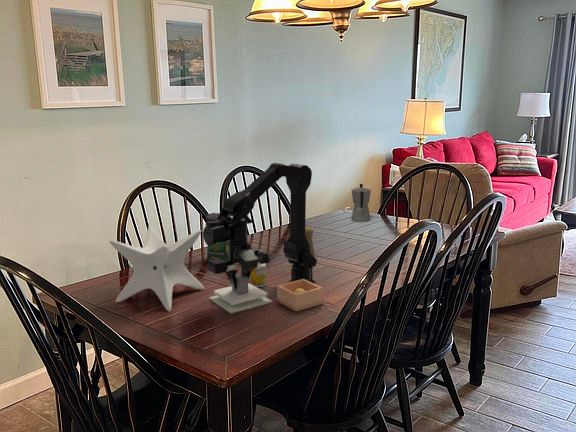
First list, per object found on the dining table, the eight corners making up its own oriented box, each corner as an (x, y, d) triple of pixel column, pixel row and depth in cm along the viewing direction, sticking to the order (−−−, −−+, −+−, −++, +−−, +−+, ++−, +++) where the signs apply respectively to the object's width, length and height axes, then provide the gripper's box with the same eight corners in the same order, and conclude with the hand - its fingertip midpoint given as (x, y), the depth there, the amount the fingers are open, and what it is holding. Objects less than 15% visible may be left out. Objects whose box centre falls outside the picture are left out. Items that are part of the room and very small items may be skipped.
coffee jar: (204, 262, 207) (201, 214, 202) (215, 256, 214) (213, 210, 209) (225, 265, 202) (223, 216, 198) (236, 259, 209) (235, 212, 205)
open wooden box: (303, 293, 173) (303, 278, 172) (323, 303, 165) (323, 287, 164) (277, 301, 167) (276, 285, 166) (296, 311, 159) (295, 295, 158)
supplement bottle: (248, 283, 183) (247, 255, 181) (263, 281, 185) (262, 253, 183) (253, 288, 178) (252, 259, 176) (268, 286, 180) (267, 257, 178)
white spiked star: (154, 282, 186) (149, 225, 182) (204, 289, 179) (201, 230, 174) (114, 303, 168) (108, 240, 164) (169, 311, 161) (164, 246, 156)
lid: (247, 285, 176) (246, 267, 174) (267, 296, 166) (266, 277, 165) (213, 293, 169) (212, 274, 168) (232, 305, 159) (231, 285, 158)
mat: (248, 289, 177) (248, 287, 177) (271, 302, 166) (271, 300, 166) (209, 299, 170) (209, 297, 170) (231, 313, 159) (230, 311, 158)
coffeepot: (350, 217, 277) (351, 181, 273) (369, 217, 276) (370, 181, 272) (351, 224, 262) (352, 187, 258) (371, 224, 261) (372, 187, 257)
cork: (305, 251, 219) (304, 224, 216) (317, 254, 215) (317, 226, 212) (295, 255, 214) (295, 227, 212) (308, 257, 210) (307, 229, 208)
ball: (301, 296, 168) (301, 285, 167) (308, 300, 165) (308, 288, 164) (291, 299, 166) (291, 288, 165) (298, 302, 163) (298, 291, 163)
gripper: (222, 250, 152) (225, 303, 156) (278, 239, 162) (279, 289, 166) (204, 242, 161) (207, 292, 165) (259, 232, 171) (260, 279, 175)
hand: (239, 288), depth 167 cm, fingers closed on lid, 3 cm apart
